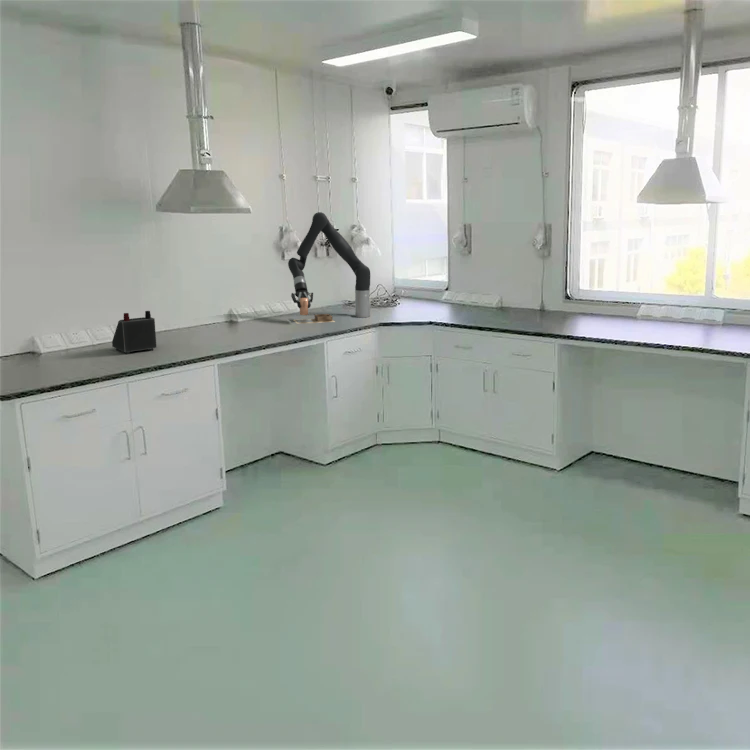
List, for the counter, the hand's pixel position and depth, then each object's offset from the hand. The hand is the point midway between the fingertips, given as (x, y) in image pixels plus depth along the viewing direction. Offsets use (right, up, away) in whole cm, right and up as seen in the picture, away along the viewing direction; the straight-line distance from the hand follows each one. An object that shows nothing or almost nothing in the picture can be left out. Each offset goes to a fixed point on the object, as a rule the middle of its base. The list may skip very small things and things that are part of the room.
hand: (304, 307), depth 421 cm
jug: (0, -4, +2) cm, 5 cm away
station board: (+5, -9, +6) cm, 12 cm away
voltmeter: (-78, -29, -73) cm, 111 cm away
